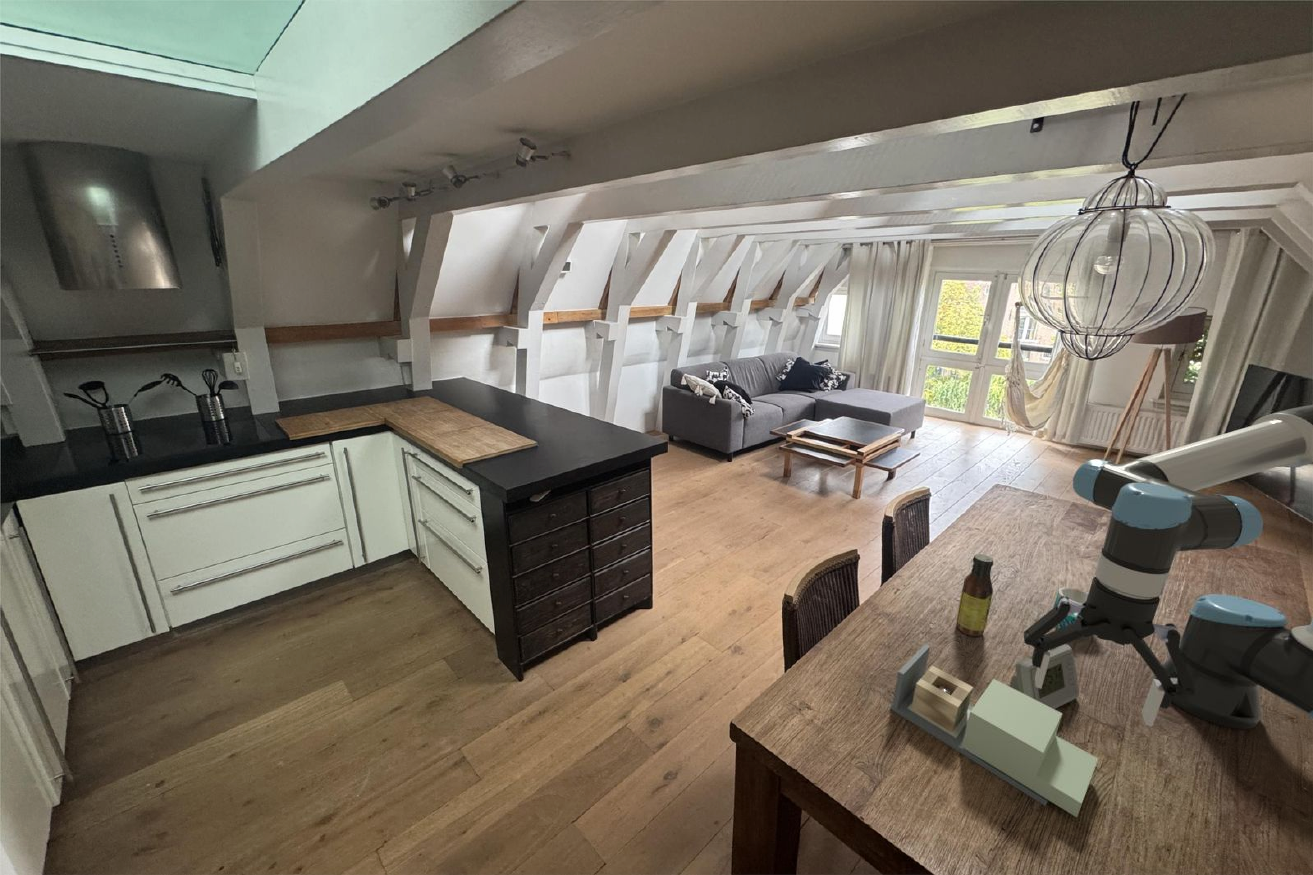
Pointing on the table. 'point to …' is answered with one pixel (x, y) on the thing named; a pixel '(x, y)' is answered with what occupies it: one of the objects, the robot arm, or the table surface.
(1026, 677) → the digital clock
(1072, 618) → the mug
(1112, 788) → the table surface
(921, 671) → the housing base
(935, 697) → the birch collar
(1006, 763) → the sage cover
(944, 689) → the steel pin
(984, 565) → the sauce bottle
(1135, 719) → the table surface
